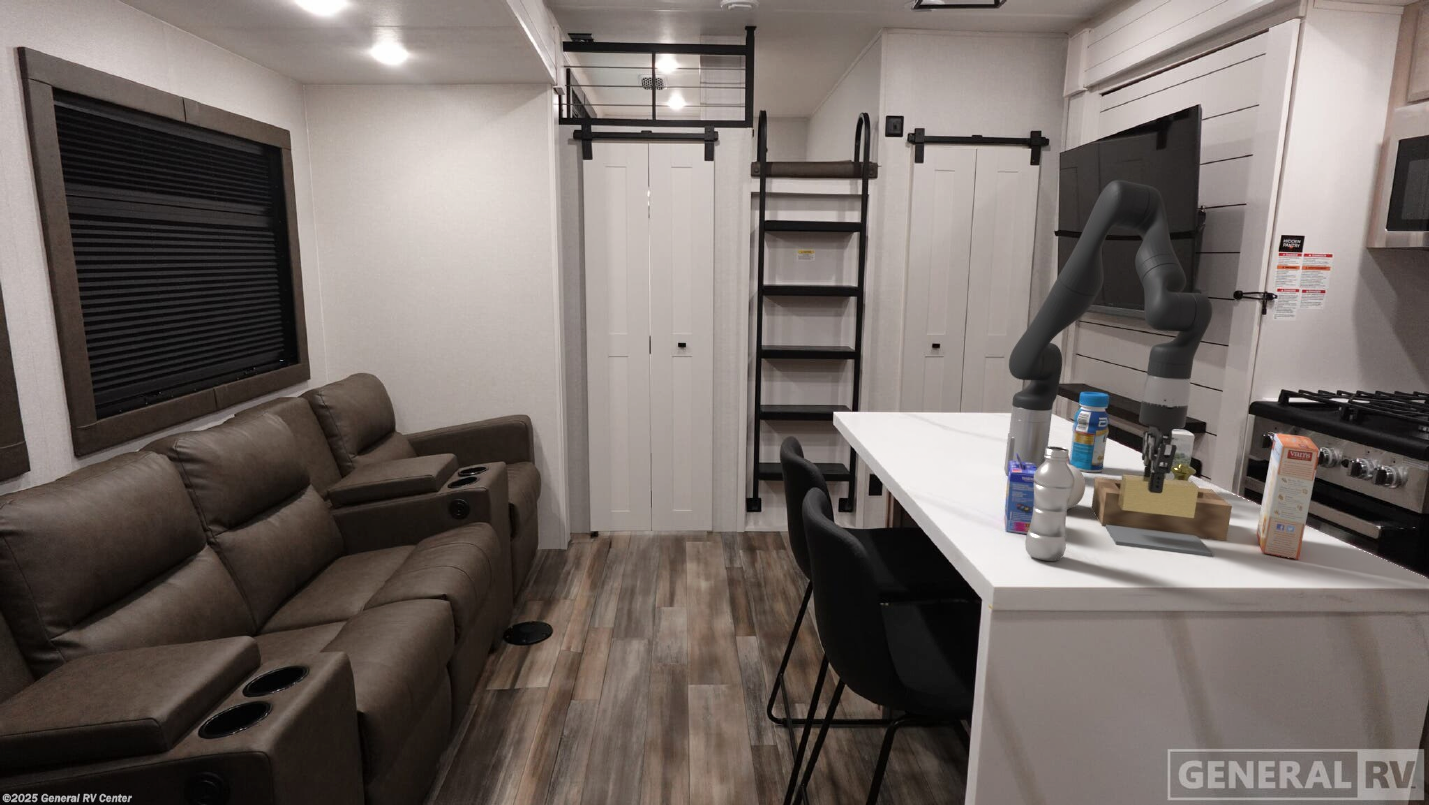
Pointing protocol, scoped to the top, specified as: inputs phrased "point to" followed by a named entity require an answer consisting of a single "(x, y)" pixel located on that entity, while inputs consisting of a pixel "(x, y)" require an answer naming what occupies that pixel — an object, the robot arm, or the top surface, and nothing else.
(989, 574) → the top surface
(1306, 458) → the cracker box
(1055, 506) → the plastic bottle
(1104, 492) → the pocket board
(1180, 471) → the gold spiky piece
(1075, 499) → the ornament
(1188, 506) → the pale yellow rectangular block
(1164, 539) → the slate mat
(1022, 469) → the ink cartridge box
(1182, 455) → the syrup box
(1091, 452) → the beverage bottle
